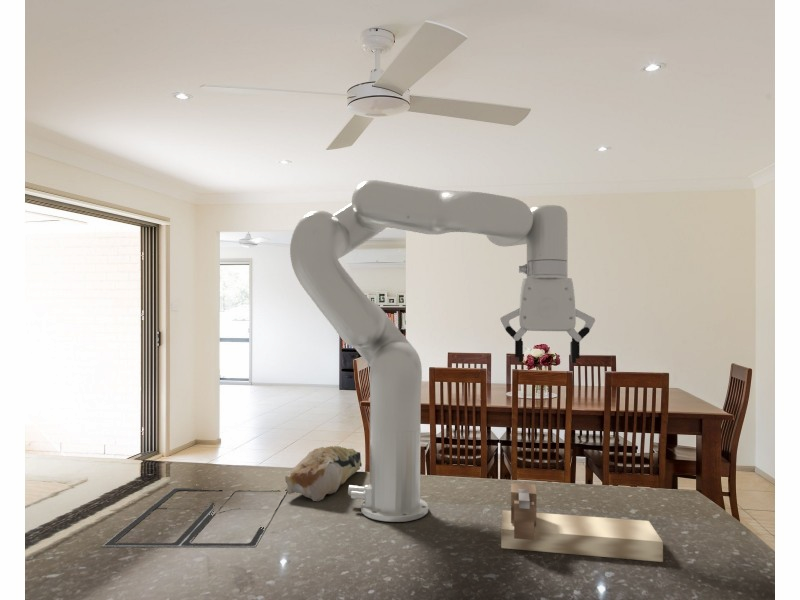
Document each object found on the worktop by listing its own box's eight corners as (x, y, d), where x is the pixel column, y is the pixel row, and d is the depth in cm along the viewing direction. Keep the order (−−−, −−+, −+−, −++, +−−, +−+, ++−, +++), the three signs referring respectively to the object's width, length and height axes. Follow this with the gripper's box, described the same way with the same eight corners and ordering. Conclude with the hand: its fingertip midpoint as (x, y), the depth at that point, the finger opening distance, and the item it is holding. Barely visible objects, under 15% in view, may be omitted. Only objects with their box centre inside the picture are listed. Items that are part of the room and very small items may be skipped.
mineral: (337, 431, 139) (376, 441, 136) (330, 469, 138) (369, 479, 135) (288, 448, 113) (334, 460, 111) (279, 494, 113) (325, 507, 110)
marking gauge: (510, 538, 88) (511, 499, 88) (511, 518, 97) (511, 483, 97) (537, 541, 87) (537, 501, 88) (535, 520, 96) (535, 484, 96)
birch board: (501, 547, 90) (501, 528, 91) (502, 527, 99) (502, 509, 99) (662, 561, 86) (662, 541, 86) (648, 539, 95) (648, 520, 95)
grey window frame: (173, 491, 119) (101, 549, 89) (174, 488, 119) (102, 545, 89) (288, 491, 120) (255, 550, 90) (288, 488, 120) (255, 546, 90)
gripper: (500, 270, 106) (499, 362, 105) (597, 269, 103) (597, 364, 102) (500, 273, 113) (500, 359, 113) (591, 272, 110) (591, 361, 109)
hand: (546, 362), depth 107 cm, fingers open, 9 cm apart
